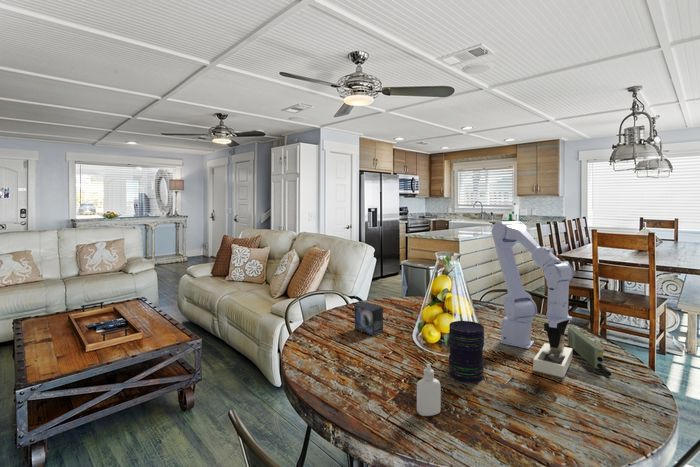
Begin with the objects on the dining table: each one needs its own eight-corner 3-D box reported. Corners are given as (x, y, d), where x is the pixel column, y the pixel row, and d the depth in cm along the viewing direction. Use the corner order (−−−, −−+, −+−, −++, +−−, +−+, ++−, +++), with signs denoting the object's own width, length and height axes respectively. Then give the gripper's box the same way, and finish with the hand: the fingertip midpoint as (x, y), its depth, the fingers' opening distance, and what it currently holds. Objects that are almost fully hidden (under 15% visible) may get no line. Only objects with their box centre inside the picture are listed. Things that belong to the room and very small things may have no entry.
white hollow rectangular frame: (563, 378, 108) (563, 366, 108) (533, 371, 113) (533, 359, 113) (572, 359, 120) (572, 348, 120) (544, 353, 125) (544, 342, 125)
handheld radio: (576, 345, 133) (616, 378, 108) (566, 345, 133) (603, 378, 109) (576, 326, 132) (616, 355, 108) (566, 326, 133) (603, 355, 108)
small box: (353, 330, 151) (353, 304, 150) (365, 326, 156) (364, 301, 155) (372, 336, 144) (372, 309, 143) (383, 332, 148) (383, 306, 147)
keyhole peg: (547, 360, 119) (548, 336, 119) (550, 355, 123) (551, 332, 122) (563, 363, 117) (564, 339, 116) (565, 359, 120) (566, 335, 119)
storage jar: (483, 370, 114) (484, 322, 113) (483, 385, 105) (484, 333, 103) (449, 366, 117) (450, 319, 116) (447, 380, 108) (447, 329, 107)
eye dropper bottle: (417, 406, 95) (417, 359, 94) (440, 408, 93) (441, 362, 92) (416, 415, 91) (416, 367, 90) (440, 418, 89) (440, 369, 88)
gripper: (568, 309, 110) (566, 354, 111) (576, 298, 121) (574, 339, 123) (541, 305, 114) (540, 348, 116) (551, 295, 126) (550, 335, 127)
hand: (556, 343), depth 119 cm, fingers open, 7 cm apart
